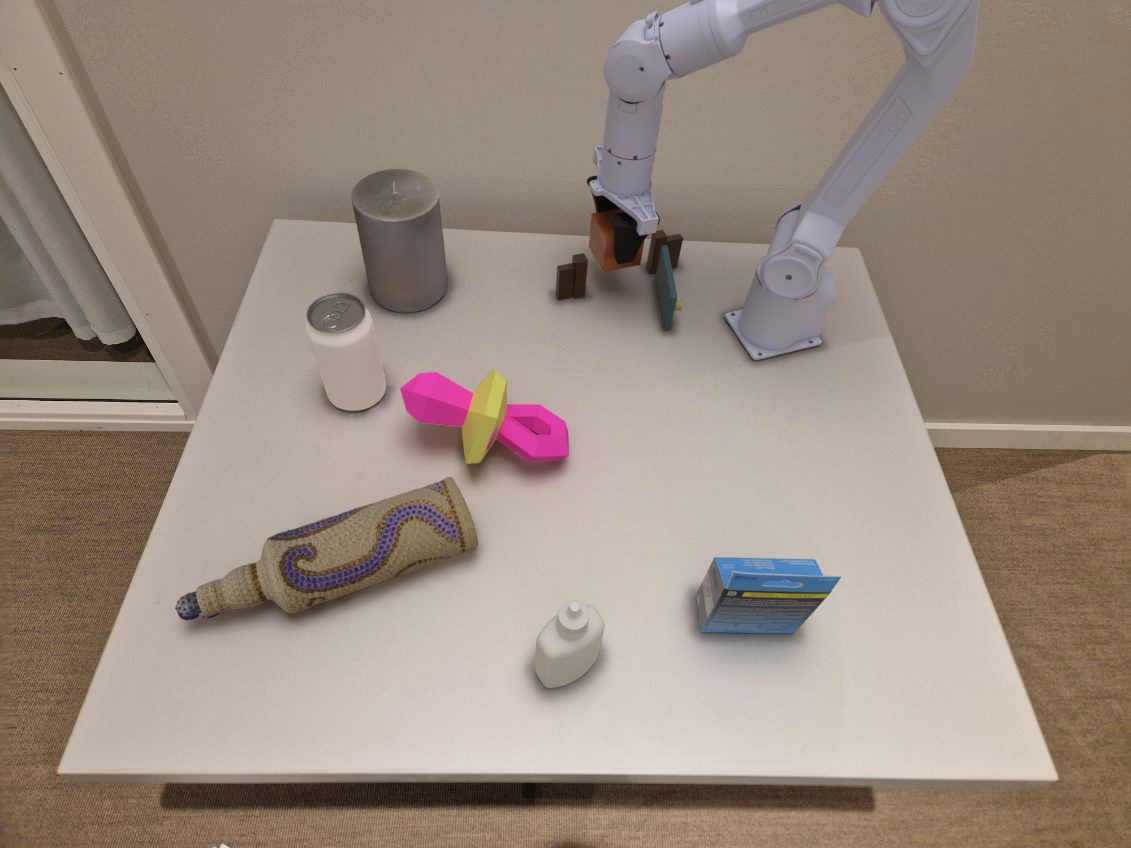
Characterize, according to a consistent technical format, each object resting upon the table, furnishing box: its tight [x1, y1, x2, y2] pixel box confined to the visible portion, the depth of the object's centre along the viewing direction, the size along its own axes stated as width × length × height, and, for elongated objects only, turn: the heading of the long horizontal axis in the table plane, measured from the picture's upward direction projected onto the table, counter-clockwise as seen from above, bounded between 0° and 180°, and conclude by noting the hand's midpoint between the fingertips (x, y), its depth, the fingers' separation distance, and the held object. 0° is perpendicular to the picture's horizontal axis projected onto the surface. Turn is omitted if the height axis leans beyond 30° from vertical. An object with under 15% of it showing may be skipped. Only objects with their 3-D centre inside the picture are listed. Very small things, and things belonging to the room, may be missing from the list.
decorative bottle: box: [174, 476, 479, 621], centre depth 65 cm, size 26×8×7 cm, turn 113°
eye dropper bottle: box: [534, 599, 606, 689], centre depth 59 cm, size 4×6×12 cm
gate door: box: [655, 246, 683, 330], centre depth 89 cm, size 2×10×5 cm, turn 2°
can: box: [305, 291, 387, 412], centre depth 76 cm, size 6×6×12 cm
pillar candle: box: [350, 168, 448, 314], centre depth 85 cm, size 10×10×15 cm
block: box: [588, 209, 646, 273], centre depth 88 cm, size 5×5×5 cm
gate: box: [555, 229, 684, 301], centre depth 92 cm, size 2×17×6 cm, turn 117°
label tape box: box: [695, 556, 842, 634], centre depth 62 cm, size 9×4×12 cm, turn 90°
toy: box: [399, 368, 570, 465], centre depth 74 cm, size 10×18×10 cm, turn 82°
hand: (616, 246), depth 89 cm, fingers closed on block, 5 cm apart
